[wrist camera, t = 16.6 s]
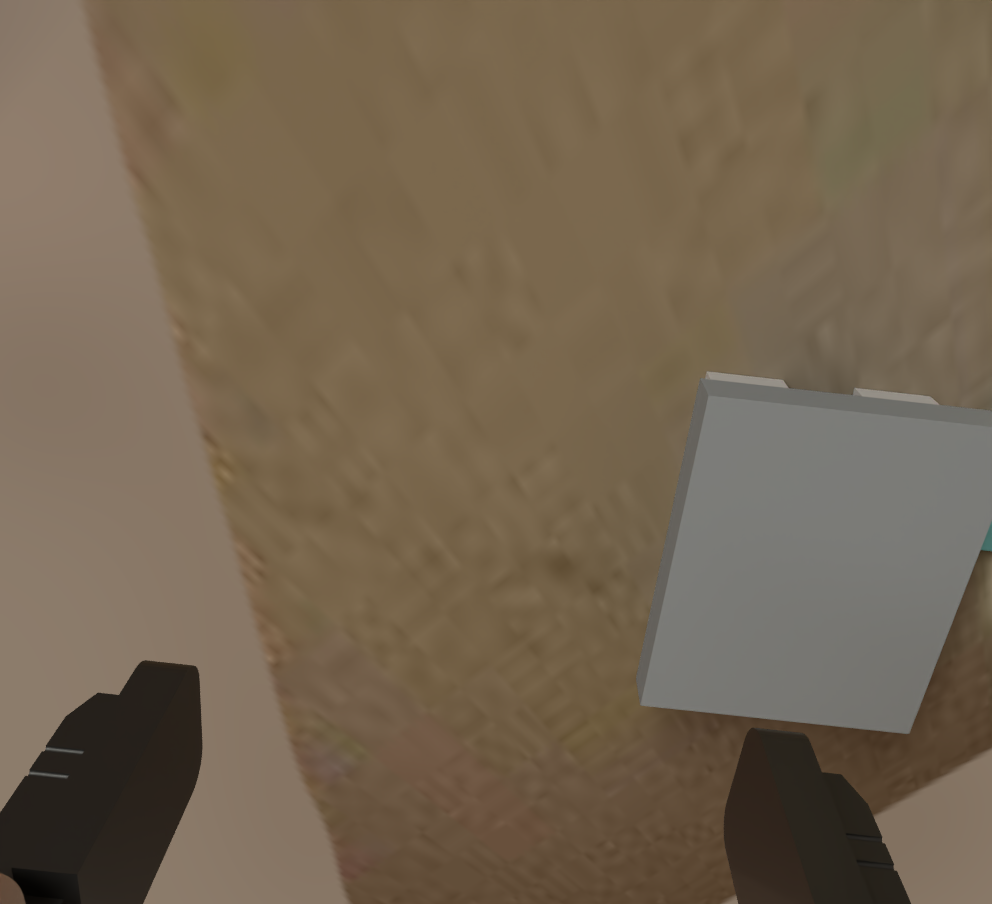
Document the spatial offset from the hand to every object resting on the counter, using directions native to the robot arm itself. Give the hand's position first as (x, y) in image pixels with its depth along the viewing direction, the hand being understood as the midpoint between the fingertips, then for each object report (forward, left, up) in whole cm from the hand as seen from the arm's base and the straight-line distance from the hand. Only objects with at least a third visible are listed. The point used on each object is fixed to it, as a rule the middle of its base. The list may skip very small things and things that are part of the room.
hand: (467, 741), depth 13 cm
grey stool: (+11, +15, -30) cm, 35 cm away
